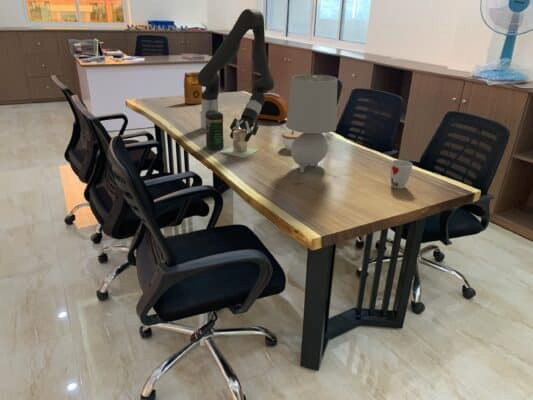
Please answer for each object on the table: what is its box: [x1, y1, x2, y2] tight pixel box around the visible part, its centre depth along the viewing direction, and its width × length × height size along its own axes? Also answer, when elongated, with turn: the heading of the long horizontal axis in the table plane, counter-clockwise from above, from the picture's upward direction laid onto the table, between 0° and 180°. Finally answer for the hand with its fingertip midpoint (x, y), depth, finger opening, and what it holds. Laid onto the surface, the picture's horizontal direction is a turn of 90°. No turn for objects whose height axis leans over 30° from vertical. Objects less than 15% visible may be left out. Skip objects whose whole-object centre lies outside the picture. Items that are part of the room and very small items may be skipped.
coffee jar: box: [205, 110, 224, 151], centre depth 208 cm, size 10×8×19 cm
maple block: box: [232, 129, 248, 153], centre depth 204 cm, size 5×5×10 cm
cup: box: [390, 159, 413, 190], centre depth 170 cm, size 8×8×10 cm
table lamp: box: [285, 74, 338, 174], centre depth 179 cm, size 23×22×40 cm
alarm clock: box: [256, 92, 289, 123], centre depth 263 cm, size 23×9×17 cm, turn 68°
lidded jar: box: [281, 130, 303, 152], centre depth 211 cm, size 11×11×9 cm
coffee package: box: [183, 71, 204, 105], centre depth 298 cm, size 10×12×22 cm
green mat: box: [220, 146, 260, 158], centre depth 207 cm, size 14×14×1 cm
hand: (238, 139), depth 203 cm, fingers open, 8 cm apart
